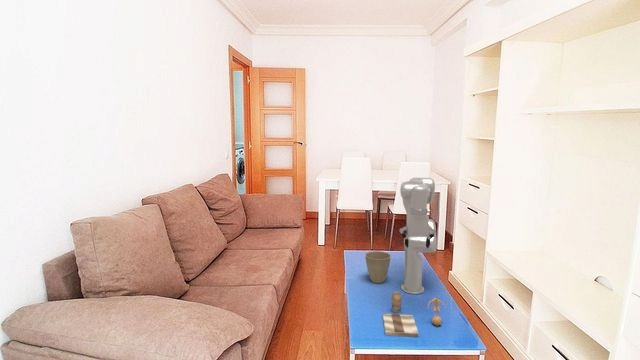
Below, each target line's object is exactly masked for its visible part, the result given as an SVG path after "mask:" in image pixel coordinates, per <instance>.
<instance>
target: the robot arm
mask: <svg viewBox="0 0 640 360" xmlns="http://www.w3.org/2000/svg"><path fill="white" fill-rule="evenodd" d="M399 190H400V196H401V198H402V204H403V206H404V210H405V214H406V225H405V226H404V227H402V228H401V227H400V228H399V233H400V234H401V236H402V237H403V248H404V277H403V283H402V284H401V285H400V289H401V290H402V291H403V292H404V293H407V294H411V295H419V294H423V293H424V292H425V288H424V286H423V285H422V283H423V282H422V279H423V258H422V256H421V255H420V253H425V254H426V253H427V254H434V253H436V252H437V249H438V248H437V247H438V242H437V241H438V239H437V238H438V237H437V227H436V222H435V221H434V219H431V218H429V215H428V213H431V209H428V205H429V204H430V205H431V204H432V203H433V200H434V195H435V190H436V182H435V180H434V179H433V178H431V177H412V178H411V179H409V180H407V181H403V182H402V183H401V185H400V189H399ZM404 231H406V233H404Z"/></svg>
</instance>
